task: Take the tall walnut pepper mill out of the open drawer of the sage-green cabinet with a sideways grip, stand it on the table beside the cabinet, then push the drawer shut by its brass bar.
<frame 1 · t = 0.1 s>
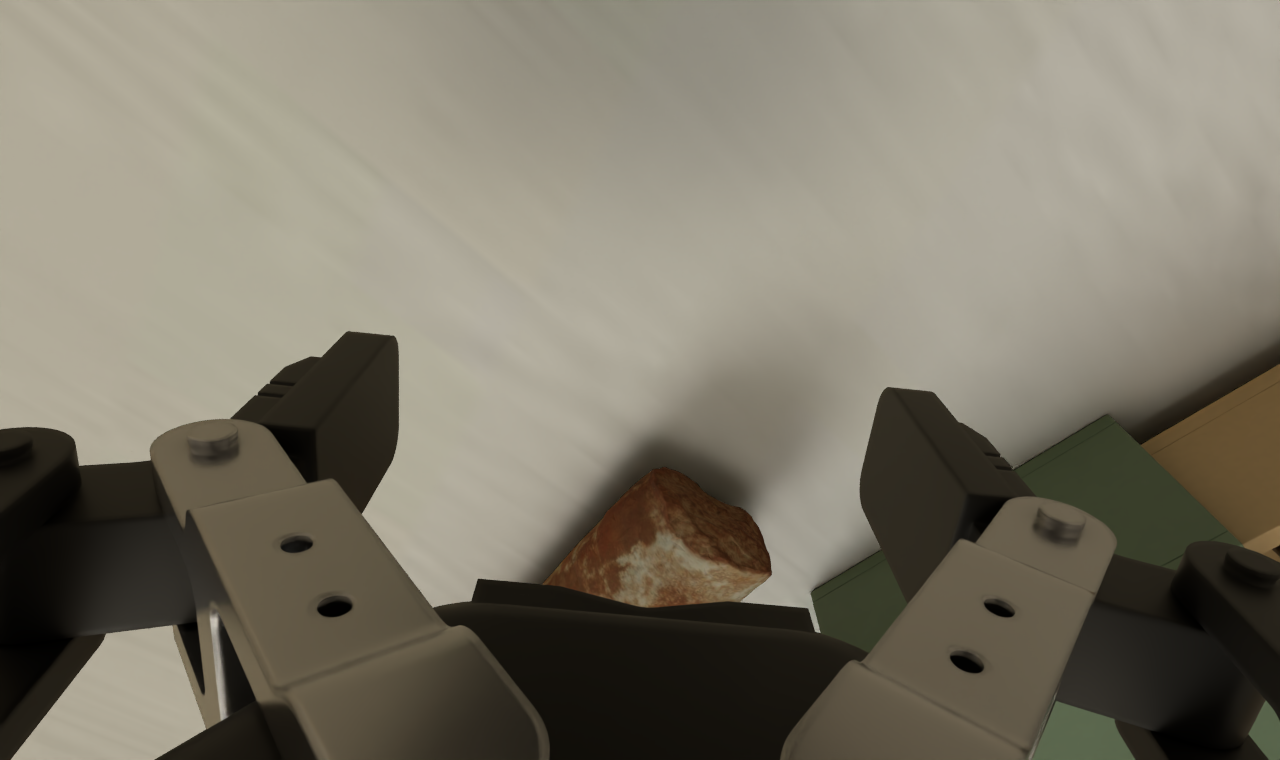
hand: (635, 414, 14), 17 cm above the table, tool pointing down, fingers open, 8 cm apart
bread: (590, 604, 38), on the table
cabinet: (1020, 595, 37), on the table
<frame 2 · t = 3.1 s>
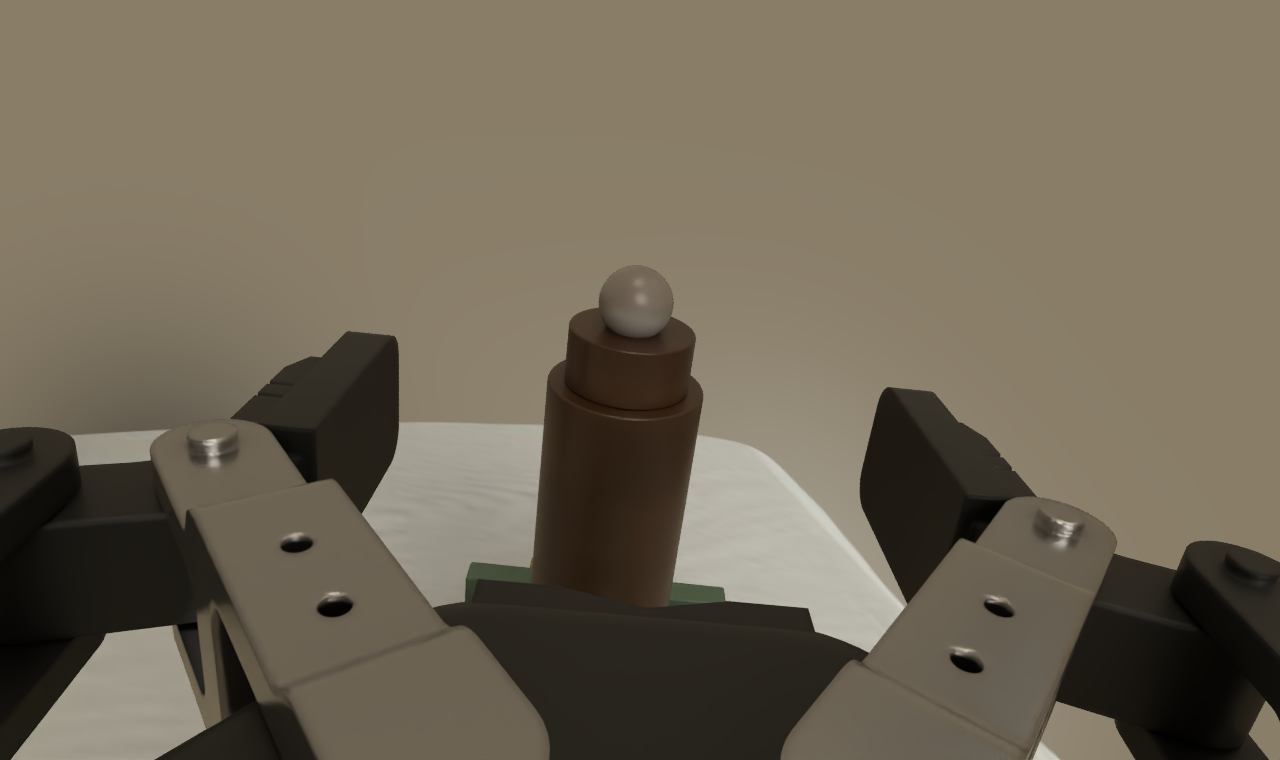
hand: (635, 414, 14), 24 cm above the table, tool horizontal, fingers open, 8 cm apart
drawer: (584, 711, 34), point 4 cm above the table, slide at 9.5 cm, touching pepper mill
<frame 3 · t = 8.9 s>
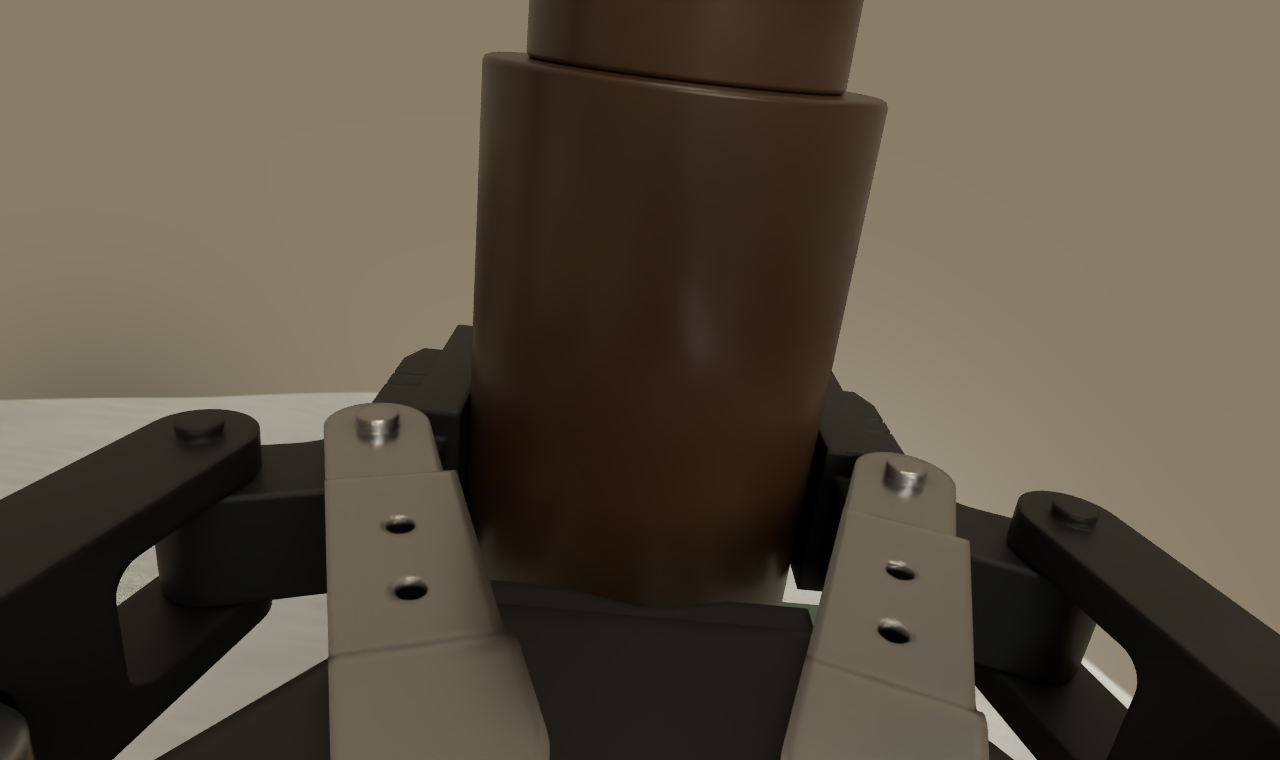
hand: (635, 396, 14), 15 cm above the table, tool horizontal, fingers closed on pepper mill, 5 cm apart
when the fingers open (13 cm above the table, at t = 16.8 s): pepper mill stays where it is, on the table.
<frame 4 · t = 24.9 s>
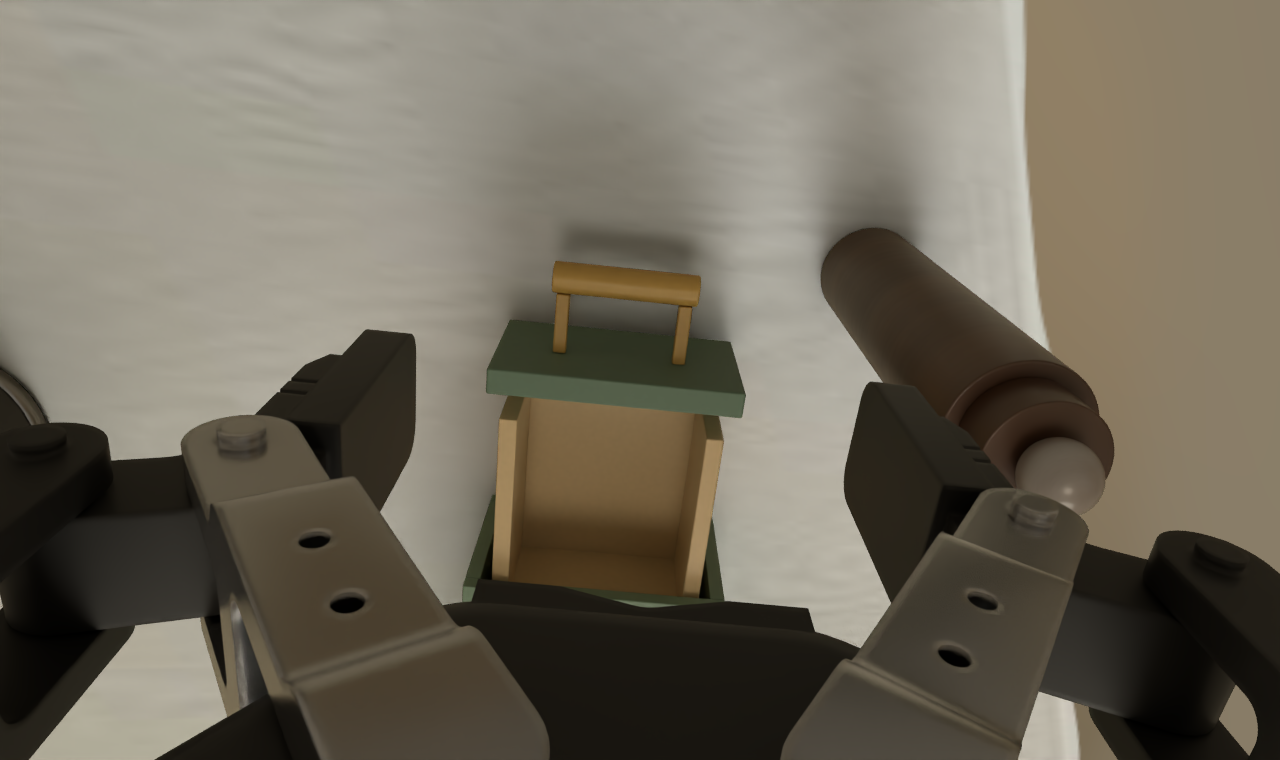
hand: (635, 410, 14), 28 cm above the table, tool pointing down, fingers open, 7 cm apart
drawer: (610, 441, 41), point 4 cm above the table, slide at 9.5 cm
pepper mill: (868, 275, 42), on the table
cabinet: (592, 608, 50), on the table
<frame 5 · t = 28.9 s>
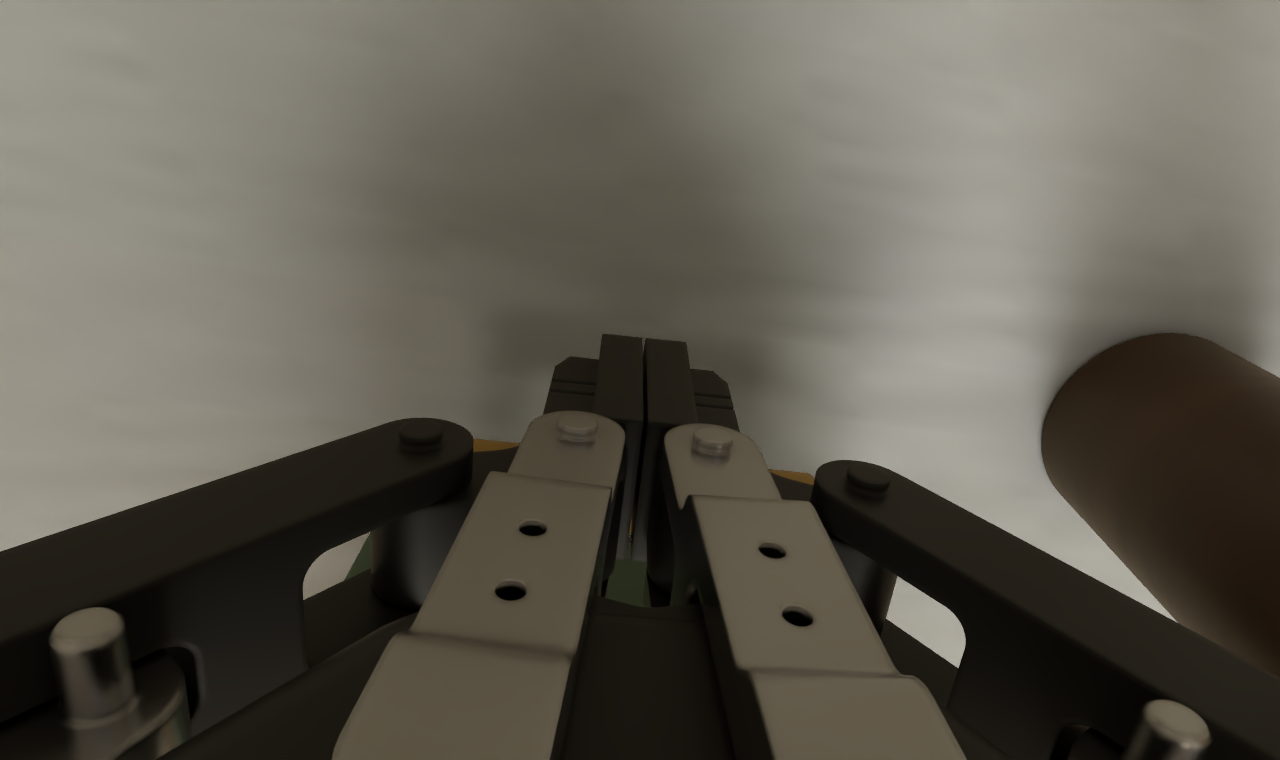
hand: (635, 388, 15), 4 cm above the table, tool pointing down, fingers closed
pepper mill: (1144, 428, 20), on the table
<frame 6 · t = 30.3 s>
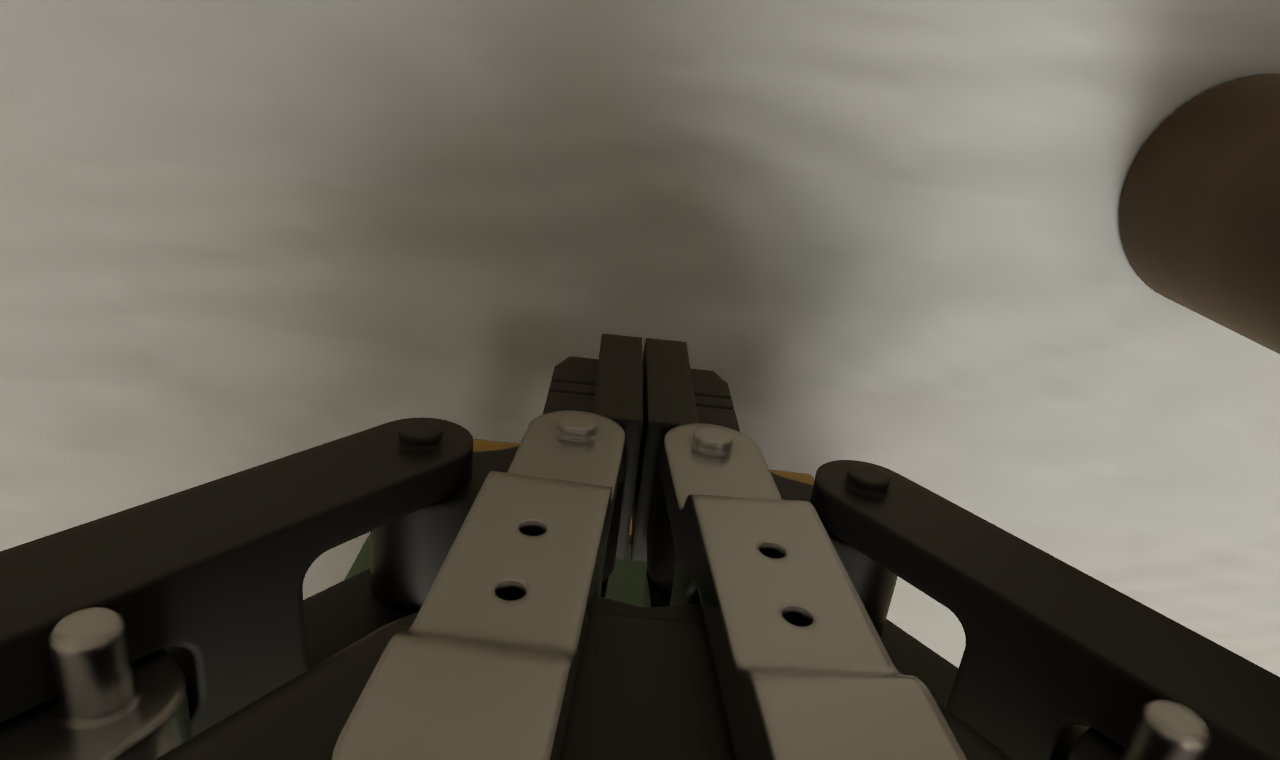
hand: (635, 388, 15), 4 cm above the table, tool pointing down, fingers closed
pepper mill: (1234, 195, 17), on the table
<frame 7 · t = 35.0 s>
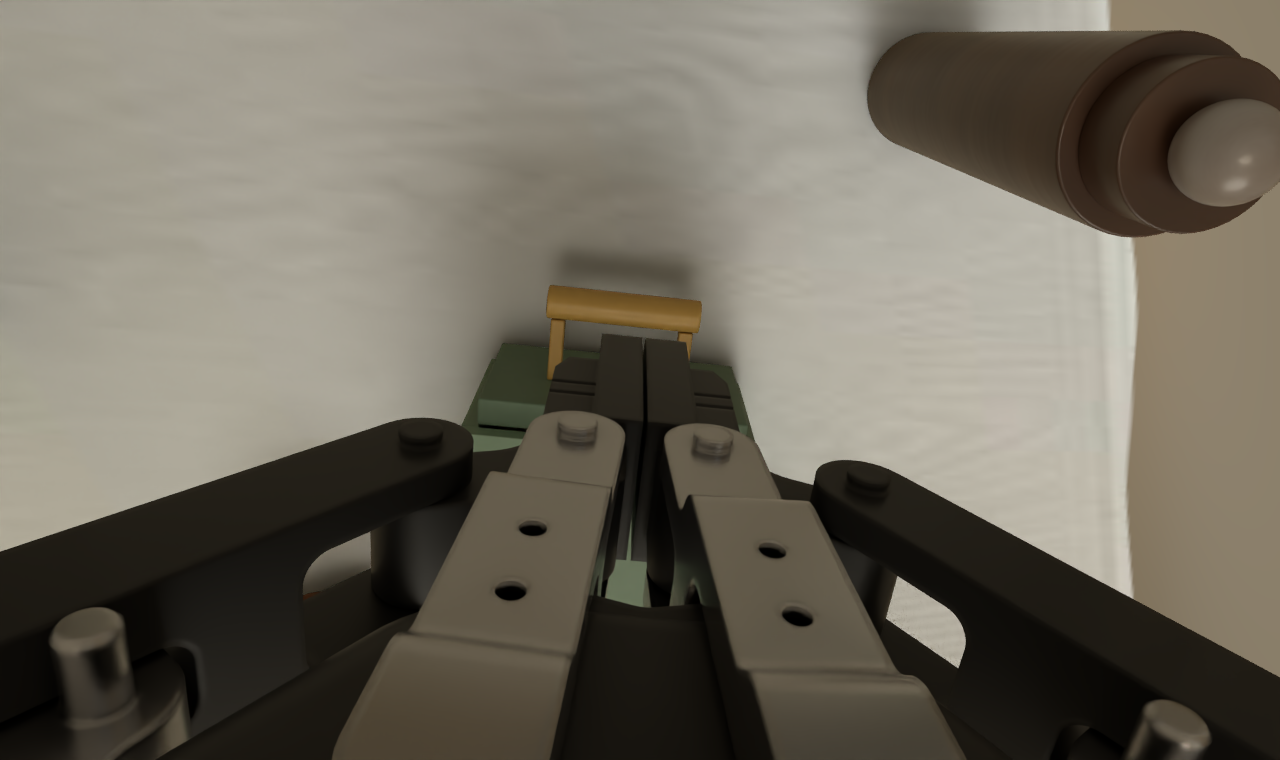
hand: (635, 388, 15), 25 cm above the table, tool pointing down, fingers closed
drawer: (606, 470, 39), point 4 cm above the table, slide at 0.0 cm, touching cabinet
pepper mill: (921, 91, 37), on the table
cabinet: (602, 495, 44), on the table
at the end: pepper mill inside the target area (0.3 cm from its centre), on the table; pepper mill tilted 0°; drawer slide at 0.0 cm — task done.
